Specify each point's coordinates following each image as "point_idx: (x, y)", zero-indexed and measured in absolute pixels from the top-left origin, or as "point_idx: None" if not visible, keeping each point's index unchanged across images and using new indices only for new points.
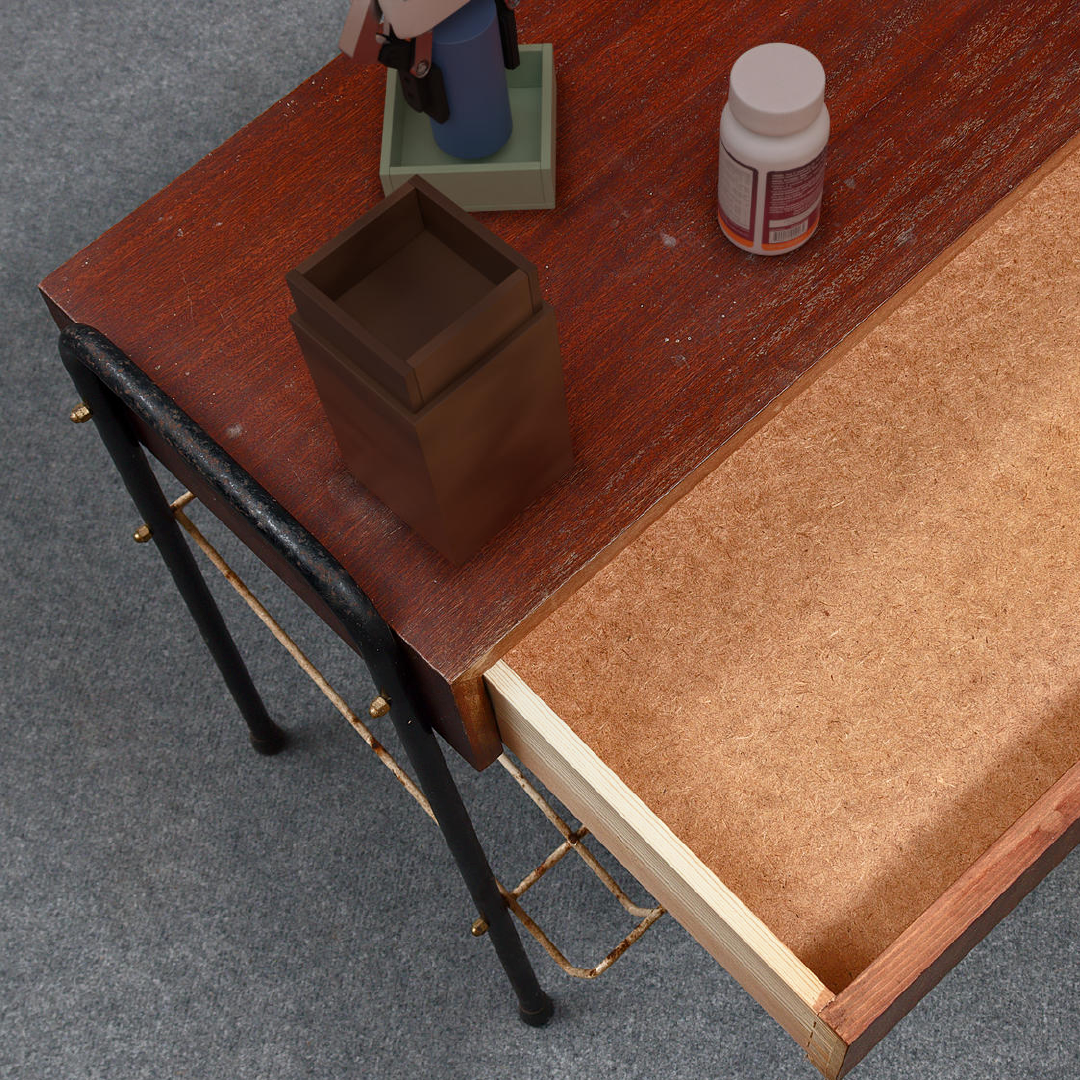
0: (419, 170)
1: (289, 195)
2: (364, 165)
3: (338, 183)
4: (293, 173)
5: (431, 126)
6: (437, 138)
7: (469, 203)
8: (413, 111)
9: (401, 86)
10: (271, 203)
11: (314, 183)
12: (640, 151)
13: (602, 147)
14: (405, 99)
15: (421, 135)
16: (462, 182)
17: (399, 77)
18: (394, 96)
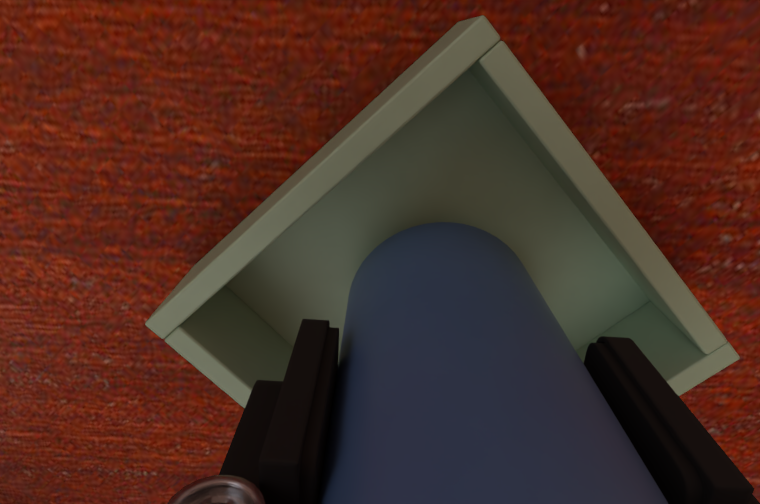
0: (224, 381)
1: (53, 51)
2: (241, 127)
3: (164, 118)
4: (98, 4)
5: (354, 289)
6: (347, 305)
7: None
8: (422, 117)
9: (244, 409)
10: (5, 34)
11: (121, 72)
12: None
13: None
14: (257, 381)
15: (377, 188)
16: None
17: (234, 437)
18: (349, 173)
